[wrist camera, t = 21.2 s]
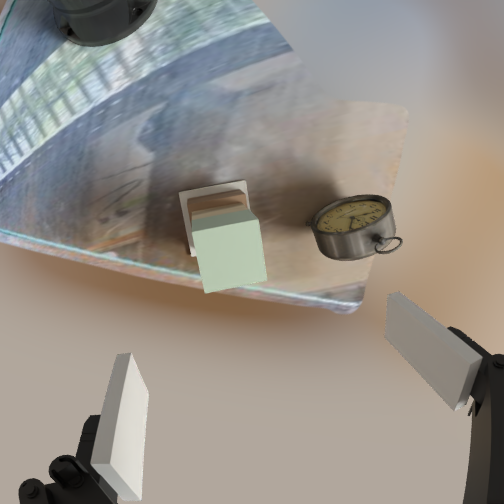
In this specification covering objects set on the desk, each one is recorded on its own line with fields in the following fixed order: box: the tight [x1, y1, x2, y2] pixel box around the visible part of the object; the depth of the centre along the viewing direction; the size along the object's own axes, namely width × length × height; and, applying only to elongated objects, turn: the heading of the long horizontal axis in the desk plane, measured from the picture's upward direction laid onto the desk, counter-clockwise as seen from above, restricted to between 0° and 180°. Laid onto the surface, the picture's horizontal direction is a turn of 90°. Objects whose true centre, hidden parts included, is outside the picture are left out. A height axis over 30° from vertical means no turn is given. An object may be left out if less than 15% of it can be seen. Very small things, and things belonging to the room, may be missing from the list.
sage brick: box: [192, 209, 267, 293], centre depth 32 cm, size 6×6×5 cm
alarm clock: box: [306, 195, 403, 261], centre depth 39 cm, size 11×5×16 cm, turn 113°
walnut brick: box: [187, 189, 248, 228], centre depth 41 cm, size 7×7×5 cm
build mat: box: [179, 180, 250, 257], centre depth 44 cm, size 9×9×1 cm
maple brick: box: [192, 202, 248, 220], centre depth 36 cm, size 6×6×5 cm
